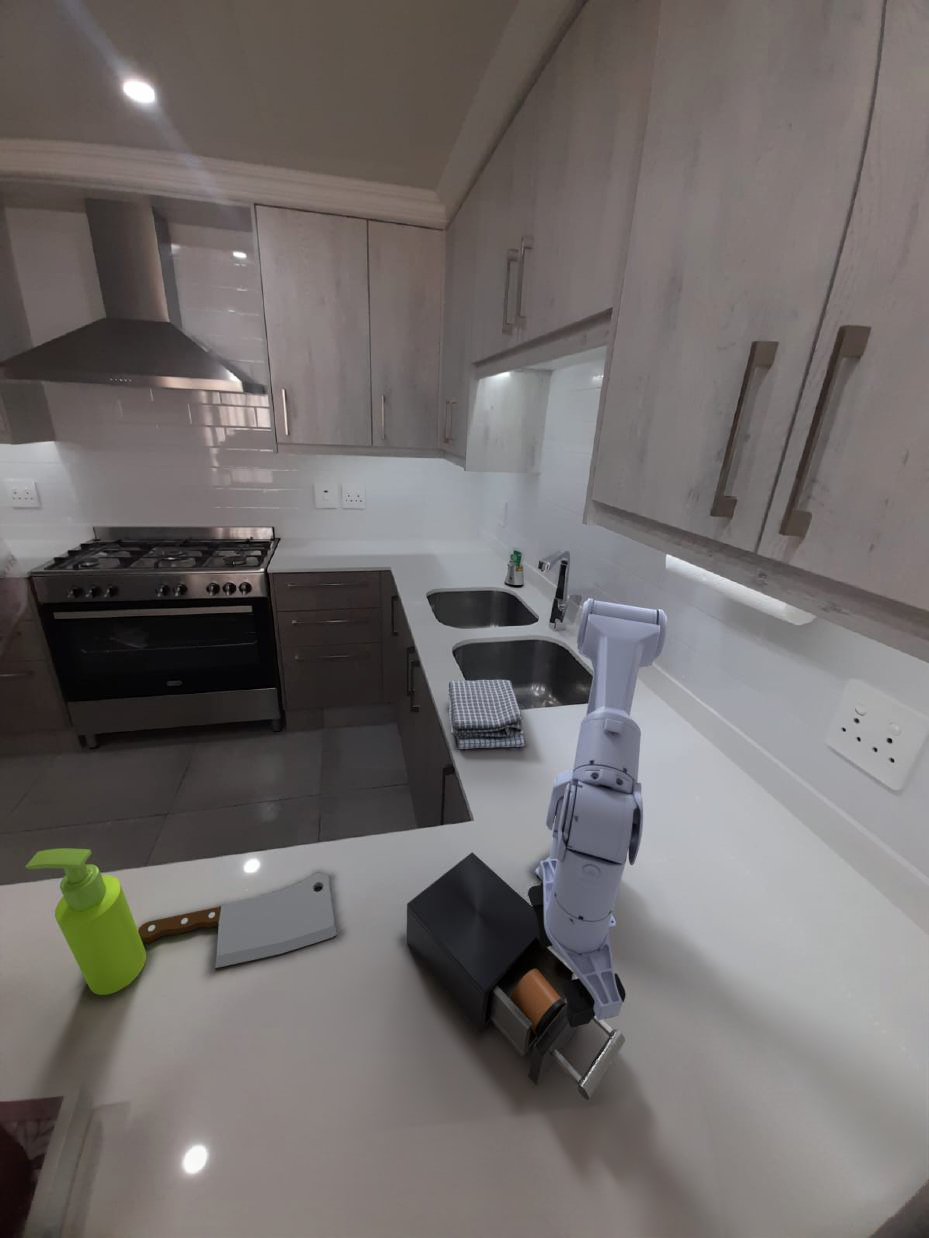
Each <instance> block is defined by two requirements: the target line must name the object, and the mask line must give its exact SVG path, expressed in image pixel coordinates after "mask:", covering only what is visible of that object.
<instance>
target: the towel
mask: <svg viewBox="0 0 929 1238" xmlns="http://www.w3.org/2000/svg"><path fill="white" fill-rule="evenodd" d="M448 692H449V693H448V718H449V725H450V734H451V735H452V736H453V737H455V738H456V740H457V746H458V749H459V750H463V749H465V750H468V749H471V750H472V749H484V748H485V749H489V748H490V749H491V748H492V749H493V748H510V747H512V748H513V747H516V748H519V747H520V748H523V747H525V745H526V743H525V739H524V734H525V733H524V730H523V723H522V721H524V718H523V716H522V712H521V710H520V707H519V704H518V700H517V696H516V693H515V690H514V687H513V683H512V680H509V679H508V680H507V679H478V680H450V681H449V683H448Z"/></svg>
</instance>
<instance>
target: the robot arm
mask: <svg viewBox="0 0 929 1238" xmlns="http://www.w3.org/2000/svg"><path fill="white" fill-rule="evenodd" d="M580 615H581V616H580V621H579V625H578V626H579V627H578V632H577V639H576V644H577V650H578V654H579V655H581V656H582V657H585V658H586V659H589V660H590V662H591V665H592V670H593V674H592V680H591V685H590V691H589V695H588V702H587V708H586V714H585V716H584V717H583V718H582V720H581V722H580V726H579V732H578V739H577V745H576V749H575V751H576V752H575V757H574V762H573V768H570V769H568V770H564V771H562V772H559V773H557V776H556V777H555V778H554V781H553V787H552V788H551V793H550V797H549V803H548V808H547V815H546V820H545V825H546V827H547V829H548V830H549V831H552V837H551V839H552V840H551V845H550V850H549V855H548V857H547V858H546V859H545V860H540V861H539V865H538V866H537V868H536V869H535V871H534V873H535V875H536V876H538V878H540V881H542V882H540V884H537V885H533V886H531V887H530V888H529V889H528V891H527V896H528V899H529V902H530V905H531V906H532V907H533V909H534V911H535V914H536V919H537V926H538V934H539V940H540V943H541V946H542V948H545V947H549V946H554V947H555V948H556V949H557V951H558V952H559V953H560V955H561V956H562V957H563V959H564V960H565V961H566V962H567V964H568V965H569V966H570V968H571V969H572V970H573V972H574V973H575V976H576V977H577V978H574V979H573V980H569V981H564V982H561V986H562V989H563V992H564V994H565V997H566V1003H568V1005H567V1018H568V1022H569V1024H570V1027H577V1026H579V1027H580V1026H583V1025H588V1024H590V1023H591V1021H593V1020H592V1019H593V1017H594V1016H595V1015H596V1017H597V1019H598V1020H607V1019H611V1018H614V1017H619V1015H620V1012H621V1009H622V1006H623V1003H624V1002H625V1000H626V995H627V994H626V993H627V992H626V989H625V987H624V985H623V983H622V981H621V979H620V977H619V974H618V973H616V972H615V969H614V962H613V955H612V948H611V947H612V946H611V940H610V935H609V932H612V931H615V930H616V927H617V921H616V918H615V916H614V915H613V911H614V906H615V903H616V899H617V895H618V892H619V888H620V884H621V881H622V877H623V875H624V870H625V866H626V863H627V860H628V863H629V865H630V866H633V865H635V863H636V859H637V857H638V853H639V851H640V847H641V843H642V837H643V829H644V803H643V795H642V783H641V782H639V781H638V780H639V769H640V768H639V766H640V753H641V738H642V737H641V736H642V731H641V728H640V727H639V725H638V724H637V722H636V721H635V720H634V719H633V718H632V717H631V716H630V715H631V711H632V705H633V700H634V695H635V690H636V683H637V679H638V675H639V669H641V668H646V667H650V666H653V663H654V662H655V661H656V660H657V659H658V658H659V657H661V654H662V652H663V648H664V646H665V645H664V644H665V640H666V635H667V628H668V616H667V614H666V613H665V611H664V610H663V609H659V608H658V609H653V608H647V607H639V606H633V605H628V604H621V603H614V602H609V601H608V602H607V601H601V600H594V599H593V598H591V597H588V599H587V600H585V601H584V602H583V605H582V610H581V614H580Z"/></svg>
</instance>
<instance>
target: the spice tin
mask: <svg viewBox="0 0 929 1238" xmlns="http://www.w3.org/2000/svg"><path fill="white" fill-rule="evenodd" d="M511 1001H512V1002H513V1003H514V1004H515V1005H516V1007H517V1008H518V1009H519V1010H520V1011H521V1012H522V1013H523V1014H524V1015H525V1016H526V1018H527V1019H528V1020H529V1021H530V1022H531V1023H532V1027H531V1029H532V1030H533V1031H534V1033H535V1035H536V1036H537V1040H538V1039H539V1038H540V1037H541V1035H542V1034H543V1033H544V1031H545V1030H546V1029H547V1028H548V1026H549V1025H550V1024H551V1022H552V1021H553V1020H554V1018H555V1017H556V1016H557V1014H558V1013H559V1012H560V1011H561V1009H562V1008H563V1007H564V1005H565V1004H566V1003H567V1001H564V1000H563V999H562V998H561V997H560V996H559V995H558V993H557V992H556V991H555V990H554V989H553V987H552V986H551V985H550V984H549V982H548V981H547V980H546V979H545V978H544V976H543V975H542V974H541V973H540V971H539V970H538V969H533V970H531V971H529V972H528V973H527V974H526V975H525V976H524V977H523V978H522V979H521V980H520V981H519V982H518V984H517V985H516V987H515V988H514V990H513V992H512V995H511Z"/></svg>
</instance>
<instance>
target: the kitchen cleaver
mask: <svg viewBox="0 0 929 1238" xmlns="http://www.w3.org/2000/svg"><path fill="white" fill-rule="evenodd" d="M319 887H321V888H322V889H321V890H319V891H315V889H316V888H319ZM330 888H331V886H330V879H329V875H327V874H325V873H322V872H319V871H318V872H317V873H314V874H313V875H311V876H310V877H308V878H306V879H305V880H302V881H300V882H298V883H296V884H293V885H290V886H288V887H286V888H285V887H284V888H283V889H280V890H277V891H274V892H270V893H267V894H264V895H261V896H258V897H254V898H250V899H246V900H241V901H237V902H232V903H228V904H225V905H219V906H216V907H210V908H205V909H201V910H197V911H192V912H188V913H182V914H177V915H173V916H169V917H163V918H159V919H154V920H150V921H147V922H145V923H143V924H142V925H140V926H139V928H138V932H139V935H140V937H141V940H142V943H143V944H146V943H152V942H155V940H158V939H159V938H161V937H162V936H167V935H173V936H175V935H179V934H182V933H188V932H191V931H194V930H196V929H199V928H202V927H203V928H208V929H211V928H216V927H217V928H218V929H217V944H216V958H215V964H214V969H219V968H223V967H227V966H232V965H237V964H241V963H246V962H251V961H256V960H259V959H264V958H269V957H272V956H277V955H282V954H286V953H288V952H292V951H295V950H298V949H301V948H304V947H308V946H311V945H313V944H317V943H320V942H323V941H327V940H330V939H332V938H334V937H336V936H337V935H338V933H337V927H336V925H335V918H334V917H335V916H334V909H333V902H332V901H333V900H332V894H331V893H332V892H331V889H330Z"/></svg>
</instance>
